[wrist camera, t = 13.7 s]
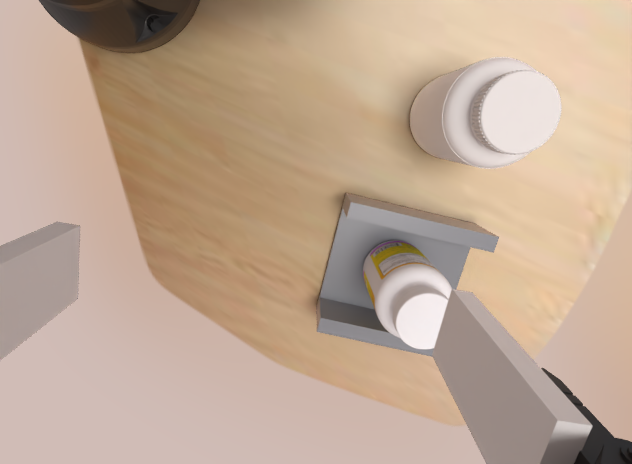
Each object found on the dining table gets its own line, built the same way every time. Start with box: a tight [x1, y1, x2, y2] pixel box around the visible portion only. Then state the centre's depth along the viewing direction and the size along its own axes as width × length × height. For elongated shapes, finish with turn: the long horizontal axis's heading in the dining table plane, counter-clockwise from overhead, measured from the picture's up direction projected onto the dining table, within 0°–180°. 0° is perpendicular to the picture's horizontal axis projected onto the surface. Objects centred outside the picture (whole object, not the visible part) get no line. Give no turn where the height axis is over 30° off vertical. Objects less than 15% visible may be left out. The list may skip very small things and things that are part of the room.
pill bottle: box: [410, 57, 561, 169], centre depth 34 cm, size 8×8×15 cm
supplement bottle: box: [363, 240, 452, 349], centre depth 37 cm, size 7×7×13 cm
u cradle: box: [316, 193, 499, 357], centre depth 42 cm, size 13×14×6 cm
